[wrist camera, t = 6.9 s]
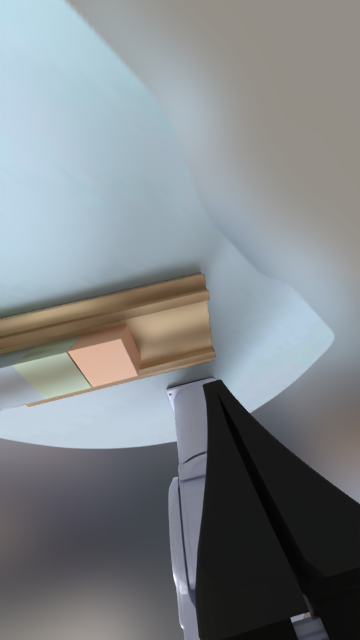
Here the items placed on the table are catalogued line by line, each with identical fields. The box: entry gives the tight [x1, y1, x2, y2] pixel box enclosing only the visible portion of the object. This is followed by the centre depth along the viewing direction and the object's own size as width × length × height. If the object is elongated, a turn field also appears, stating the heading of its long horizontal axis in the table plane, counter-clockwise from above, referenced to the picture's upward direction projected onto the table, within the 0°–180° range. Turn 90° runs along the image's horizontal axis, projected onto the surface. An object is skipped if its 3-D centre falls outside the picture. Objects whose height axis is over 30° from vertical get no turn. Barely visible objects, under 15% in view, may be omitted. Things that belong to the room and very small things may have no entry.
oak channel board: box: [0, 273, 215, 411], centre depth 16 cm, size 12×26×4 cm, turn 101°
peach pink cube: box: [68, 324, 141, 387], centre depth 16 cm, size 5×5×3 cm
